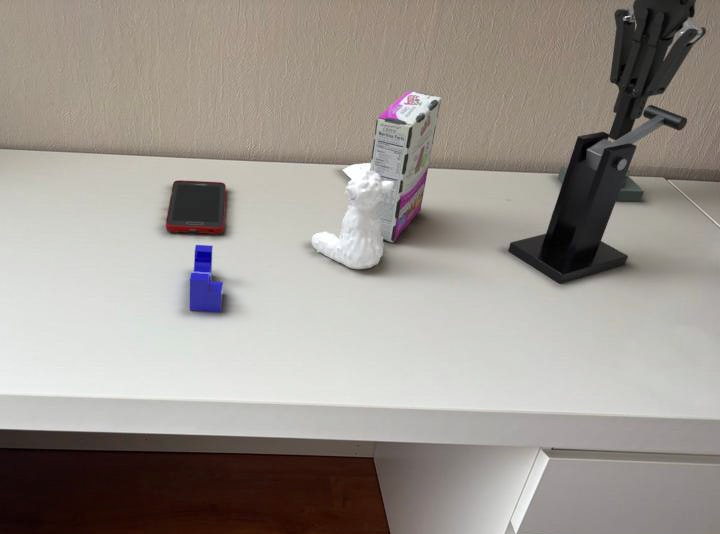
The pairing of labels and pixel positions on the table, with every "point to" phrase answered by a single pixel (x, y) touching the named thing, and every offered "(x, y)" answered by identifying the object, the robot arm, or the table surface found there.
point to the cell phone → (196, 207)
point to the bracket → (580, 216)
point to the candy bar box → (404, 158)
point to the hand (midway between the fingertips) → (618, 137)
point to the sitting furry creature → (358, 224)
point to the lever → (636, 132)
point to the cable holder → (204, 283)
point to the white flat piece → (356, 169)
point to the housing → (627, 191)
